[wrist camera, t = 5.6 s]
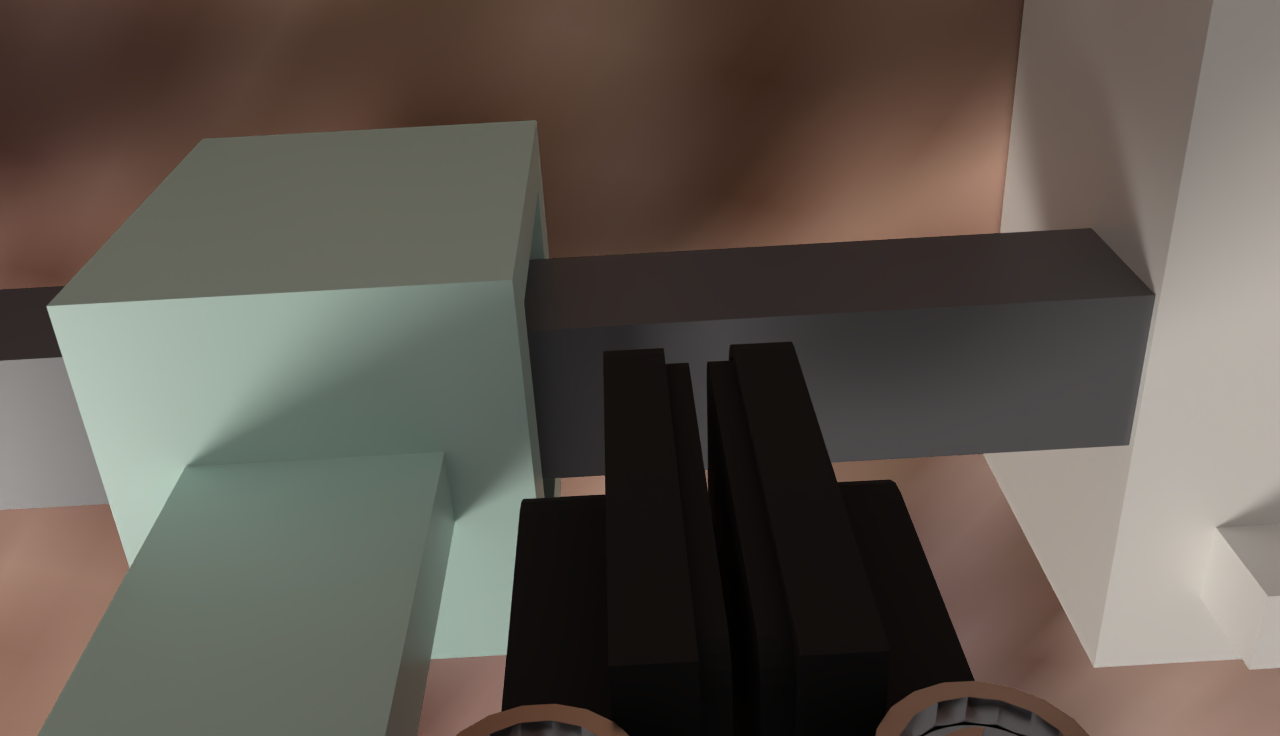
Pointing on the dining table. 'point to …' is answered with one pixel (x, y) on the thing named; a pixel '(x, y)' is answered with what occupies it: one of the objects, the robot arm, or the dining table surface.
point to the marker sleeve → (308, 428)
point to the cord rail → (972, 333)
